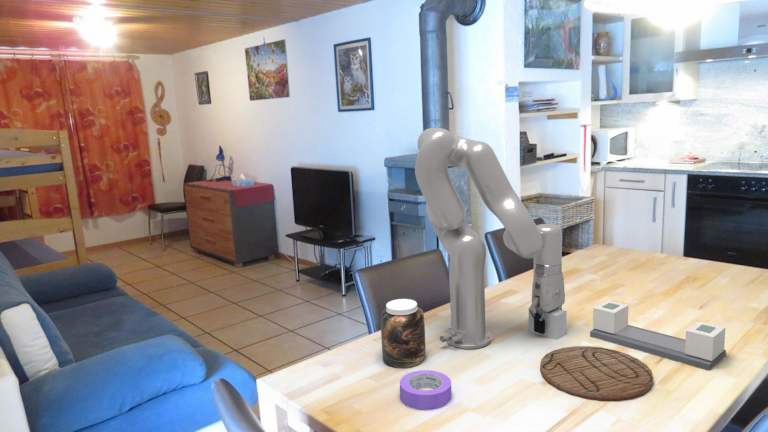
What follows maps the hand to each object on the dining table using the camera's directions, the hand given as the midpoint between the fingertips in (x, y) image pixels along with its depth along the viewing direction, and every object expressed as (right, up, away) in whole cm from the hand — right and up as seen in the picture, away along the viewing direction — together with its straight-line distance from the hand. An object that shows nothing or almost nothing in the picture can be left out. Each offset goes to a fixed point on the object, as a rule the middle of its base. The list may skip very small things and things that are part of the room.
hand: (547, 327), depth 154 cm
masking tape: (-37, -10, -31) cm, 49 cm away
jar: (-41, -6, -11) cm, 43 cm away
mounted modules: (+25, 0, -12) cm, 27 cm away
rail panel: (+25, -2, -12) cm, 27 cm away
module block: (0, -1, 0) cm, 2 cm away
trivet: (+4, -6, -25) cm, 26 cm away
